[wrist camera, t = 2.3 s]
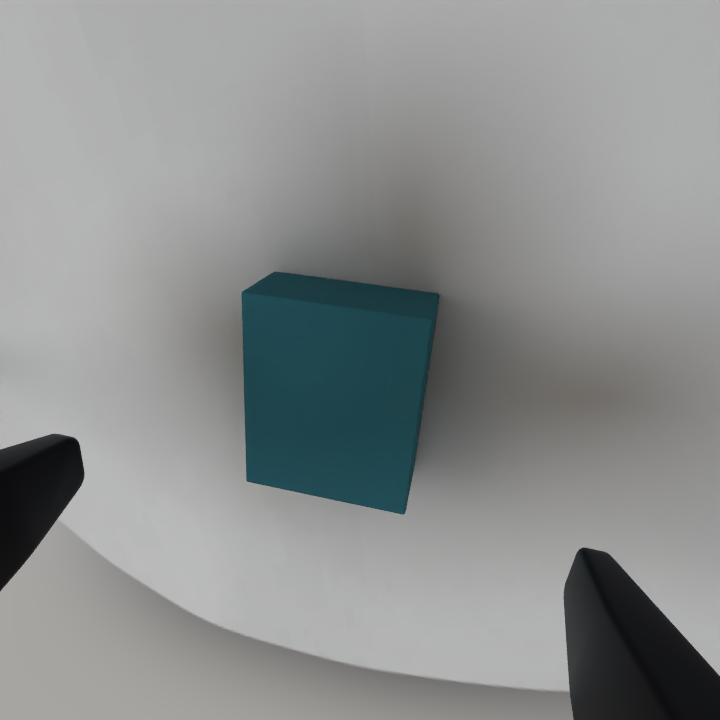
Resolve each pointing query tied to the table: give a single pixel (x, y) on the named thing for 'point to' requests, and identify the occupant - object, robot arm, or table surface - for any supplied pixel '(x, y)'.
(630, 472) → the table surface
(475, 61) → the table surface
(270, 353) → the teal pad
